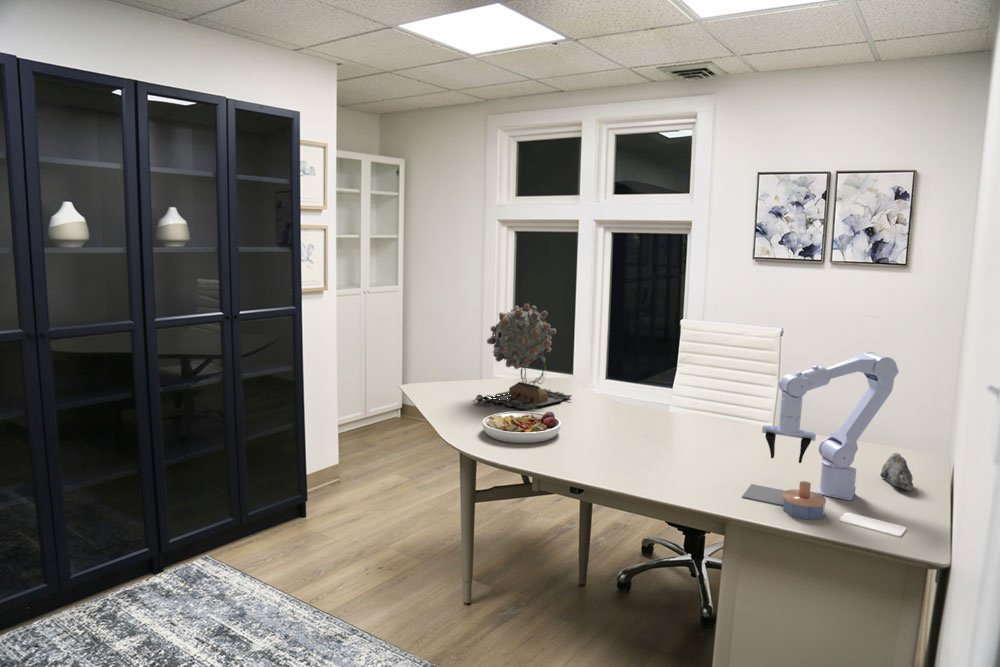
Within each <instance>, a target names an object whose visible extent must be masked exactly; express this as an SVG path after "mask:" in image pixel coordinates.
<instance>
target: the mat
mask: <svg viewBox="0 0 1000 667" xmlns="http://www.w3.org/2000/svg"><path fill="white" fill-rule="evenodd" d="M784 491H786V490H784V489H779V488H775V487H768V486H763V485H759V484H754V483H751V484H750V485H749V487H748V488H747V489H746V490H745V491H744V493H743V495H742V496H741V498H742V499H747V500H750V501H757V502H761V503H766V504H771V505H776V506H781V507H784V498H783V492H784Z"/></svg>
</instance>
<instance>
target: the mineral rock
mask: <svg viewBox="0 0 1000 667" xmlns="http://www.w3.org/2000/svg"><path fill="white" fill-rule="evenodd" d="M879 474H880V477H881V478H882V479H884V480H885V481H886V482H887V483H889V484H891V486H894V487H895V488H896V487H897V488H901V489H902V490H907V491H911V490H912V489H913V488H914V484H913V477H914V476H913V474H912V473H911V471H910V469H909V467H908V464H907V460H906V459H905V458H904V457H903V456H902V455H901V454H900V453H897V452H893V453H892V454H891V455H889V457H888V458H887V460H886V461H885V463H884V464H883V465H882V468H881V472H880V473H879Z"/></svg>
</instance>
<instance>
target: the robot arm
mask: <svg viewBox="0 0 1000 667" xmlns="http://www.w3.org/2000/svg"><path fill="white" fill-rule="evenodd" d="M854 373H863V374H864V376H865V377H866V379H867V383H868V385H869V386H868V389H867V390H866V391H865V393H864V394H863V396H862V397H861V399H860V400H859V401H858V403H857V404H856V406H855V407H854V409H853V410H852V411H851V413H850V414H849V416H848V417H847V418H846V420H845V421H844V423H842V426H841V427H840V428H839V430H837V431H834V432H832V433H830V434H829V436H828V437H827V438H825V439H823V440H822V441H821V442H820V443H819V446H818V453H819V456H821V457H822V458H821V468H820V482H819V487H818V489H817V490H816V493H817V494H820V495H822V496H825V497H826V496H827V497H830V498H837V499H842V500H846V501H847V500H848V501H852V500H853V498H854V496H855V493H856V478H857V477H856V476H857V468H855V467H852V466H851V465H852V464H853V463H854V461H855V456H856V453H857V451H859V448H858V443H857V442H858V440H859V438H860V437H861V435H862V434H863V432H865V430H866V428H867V427H868V425H869V424H870V423H871V422H872V420H873V419H874V417H875V416H876V415H877V413H878V412H879V410H880V409H881V408H882V407H883V405H884V403H885V402H886V401H887V399H888V398H889V396H890V395H891V393H892V391H893V389H894V388H893V387H894V383H895V378H896V377H897V375H898V374H899V373H900V372H899V368H898V365H897V362H896V361H895V360H894V359H893V358H891V357H889V356H884V355H880V354H877V353H876V352H873V351H866V352H865V353H860V354H857V355H856V356H853V357H852V358H849V359H846V360H844V361H842V362H839V363H836V364H833V365H831V366H828V367H824V366H821V365H819V366H818V365H812V366H811V368H810V369H809V368H808V369H806V370H803V371H801V370H799V371H796V374H793V373H788V374H785V375H783V377H782V378H781V379H780V382H778V386H779V389H780V391H781V399H780V408H779V420H778V425H765V424H763V425H762V430H761V433H762V434H765V439H766V442H767V444H768V447H769V452H770V453H769V454H770V459H774V457H775V449H776V447H775V446H776V438H777V437H776V435H779V436H785V437H791V438H798V439H800V449H799V450H800V451H799V457H798V464H802V462H803V457H804V454H805V452H806V451H807V449H808V447H809V446H810V444H811V442H812V441H813V442H816V436H817V432H812V431H807V430H803V429H801V418H802V410H803V409H802V407H803V397H804V396H805V395H806V394H807V392H808V391H811V390H814V389H817V388H818V389H819V388H821V387H823V386H826V385H827V386H828V384H830V382H831V380H832V379H836V378H839V377H843V376H847V375H851V374H854Z"/></svg>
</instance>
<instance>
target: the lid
mask: <svg viewBox="0 0 1000 667" xmlns="http://www.w3.org/2000/svg"><path fill="white" fill-rule="evenodd" d="M811 486H812V484H811V482H809V481H805V480H804V481H803V480H802V481H799V486H798V487H799V488H798V489H788V490H785V491H784V492H783V498H784V500H786V501H787V502H789V503H792V504H795V505H798V506H803V507H821V506H824V505H825V506H826V503H827V500H826V498H825V497H824V495H820V494H817V492H814V491H811Z"/></svg>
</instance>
